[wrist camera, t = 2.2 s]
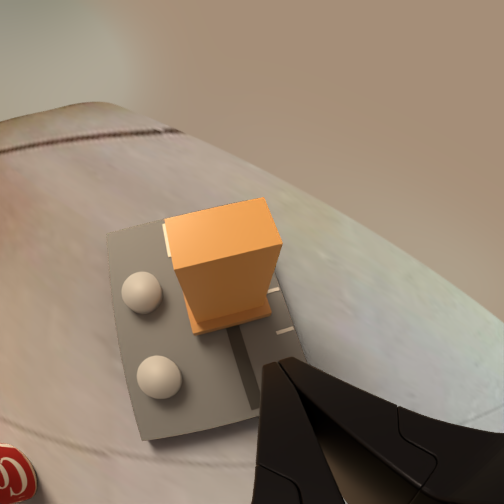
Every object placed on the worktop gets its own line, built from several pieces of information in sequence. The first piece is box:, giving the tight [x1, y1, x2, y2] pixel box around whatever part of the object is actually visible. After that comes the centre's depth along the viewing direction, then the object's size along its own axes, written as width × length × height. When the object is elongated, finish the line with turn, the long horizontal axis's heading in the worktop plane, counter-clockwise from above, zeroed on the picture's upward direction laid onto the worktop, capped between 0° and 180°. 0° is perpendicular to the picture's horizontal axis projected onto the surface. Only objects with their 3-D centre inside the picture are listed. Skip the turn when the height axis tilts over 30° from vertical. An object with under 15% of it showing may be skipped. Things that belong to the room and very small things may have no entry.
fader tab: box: [164, 197, 283, 336], centre depth 16 cm, size 4×5×9 cm
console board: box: [106, 200, 307, 441], centre depth 20 cm, size 16×12×2 cm
